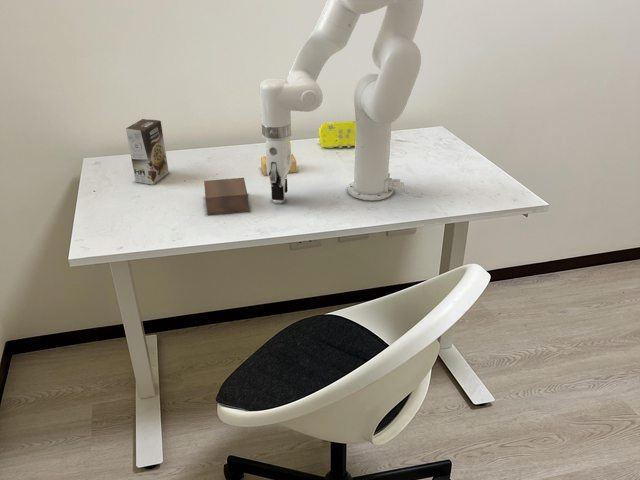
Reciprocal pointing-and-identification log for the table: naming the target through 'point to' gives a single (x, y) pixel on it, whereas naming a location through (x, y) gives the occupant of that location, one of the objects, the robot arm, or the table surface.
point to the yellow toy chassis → (337, 134)
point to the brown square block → (226, 196)
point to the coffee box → (147, 151)
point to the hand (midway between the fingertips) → (279, 195)
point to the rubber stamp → (264, 166)
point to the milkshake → (283, 189)
